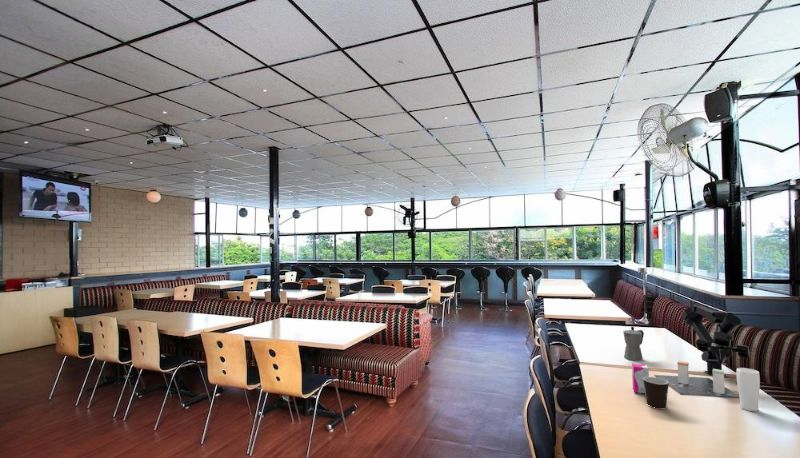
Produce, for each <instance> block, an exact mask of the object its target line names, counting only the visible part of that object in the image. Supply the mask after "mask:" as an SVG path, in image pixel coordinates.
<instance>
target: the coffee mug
mask: <svg viewBox="0 0 800 458" xmlns="http://www.w3.org/2000/svg"><path fill="white" fill-rule="evenodd" d="M643 382H644V388H645V394H646V395H645V394H644V395H645V399H646V405H647V404H648V405H650V406H652V407H655V408H654V409H656V408H666V409H667V403H668V402H667V401H668V393H669V386H668V385H669V382H668V381H666V380H664V379H661V378H657V377H655V376H649V377H644V378H643ZM648 405H647V406H648ZM650 406H649V407H650ZM652 407H651V408H652Z"/></svg>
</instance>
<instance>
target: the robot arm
mask: <svg viewBox="0 0 800 458" xmlns="http://www.w3.org/2000/svg"><path fill="white" fill-rule="evenodd" d="M704 317H705V318H706V320H707V321H708V322H709V323H711V324H716V325H715V331H713V337H712V335H711V334H710V332H709V331H708V329H707V328H706V327H705V325H704V324H703V320H704ZM681 319H682V320H683V322H684V323H685V324H687V325H688V326H691V327H692V328H693V330H694V333H696V335H697V337H698V339H696V341H695V345H696V348H697V351H700V352H702V354H701V355H700V357H701V360H702V361H704V362H706V370H704V371H705V372H706V373H705V372H704V373H705V374H707V375H709V376H712V377H713V373H712V370H713V369H718V370H723V367H722V366H723V364H727V362H728V359H729V358H730V357H731V358H733V357H734V355H733V352H734V353H737V355H738V356H739V357H740V358H745V359H746V358H747V359H749V358H750V355H751V353H750V348H749V347H748V345H742V344H736V346H731V341H734V333H733V332H734V331H735V330H736V329H737V328H738V327H739V326H741V324H742V321H741V320H742V319H740V318H739V317H738V316H737V315H735V314H733V312H725V311H719V310H713V309H711V308H708V307H706V306H704V305H702V304H692V305H690V306H689V307H688V308H685V309H684V310H683V312H682V313H681ZM724 377H726V374H724Z"/></svg>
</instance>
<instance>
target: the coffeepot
mask: <svg viewBox="0 0 800 458" xmlns="http://www.w3.org/2000/svg"><path fill="white" fill-rule="evenodd" d="M622 332H623V338H624V343H625V345H626V346H625V350H624V354H623V355H624V356H623V358H624V359H625V360H627V361H633V362H642V361H643V359H644V357H643V354H642V350H641V345H642V344H643V340H644V336H645V332H644V331H643V330H642V329H639V330H638V329H637V330H635V327H634V326H631V327H630V329H627V330H625V329H624V330H623V331H622Z"/></svg>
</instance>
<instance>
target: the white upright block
mask: <svg viewBox="0 0 800 458" xmlns="http://www.w3.org/2000/svg"><path fill="white" fill-rule="evenodd" d="M712 373H713V376H712V380H713V392H715V393H720V394H724V393H725V387H726V386H725V385H726V384H725V376H724V375H725V370H723V369H722V370H718V369H713V370H712Z"/></svg>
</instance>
